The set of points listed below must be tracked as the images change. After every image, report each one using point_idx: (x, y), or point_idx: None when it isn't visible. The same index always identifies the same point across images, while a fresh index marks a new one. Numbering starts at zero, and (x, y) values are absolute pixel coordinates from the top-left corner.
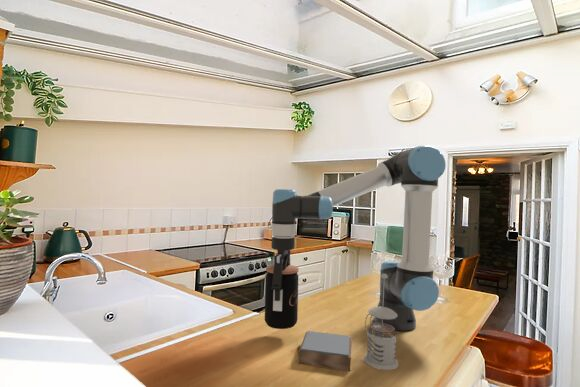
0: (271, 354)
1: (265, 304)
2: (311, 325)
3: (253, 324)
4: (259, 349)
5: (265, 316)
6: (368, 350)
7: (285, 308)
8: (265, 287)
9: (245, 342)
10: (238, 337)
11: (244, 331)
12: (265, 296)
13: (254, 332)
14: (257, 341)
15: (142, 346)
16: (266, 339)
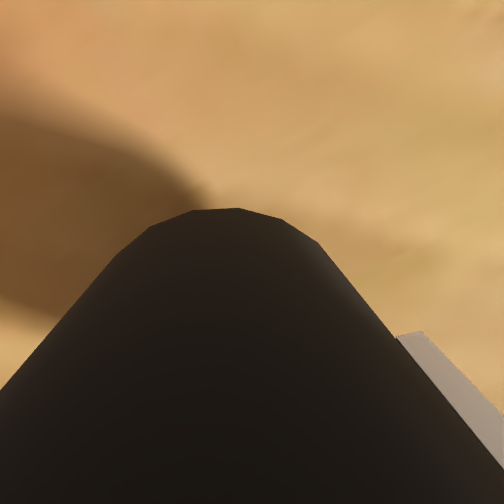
0: (8, 332)
1: (91, 292)
2: (481, 359)
3: (347, 9)
4: (16, 251)
5: (114, 260)
6: None
7: None
8: (6, 413)
9: (42, 125)
10: (78, 35)
11: (193, 17)
12: (63, 331)
13: (216, 96)
14: (102, 187)
15: None
16: (160, 222)
